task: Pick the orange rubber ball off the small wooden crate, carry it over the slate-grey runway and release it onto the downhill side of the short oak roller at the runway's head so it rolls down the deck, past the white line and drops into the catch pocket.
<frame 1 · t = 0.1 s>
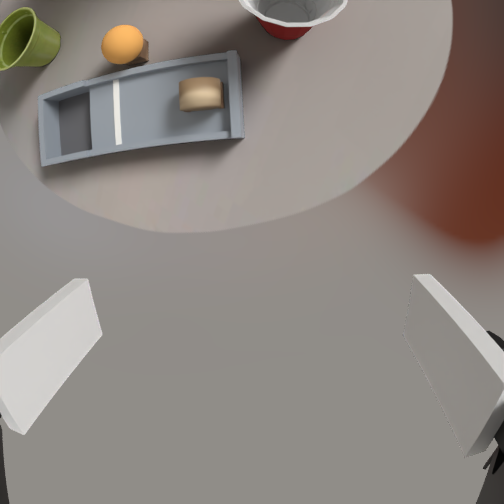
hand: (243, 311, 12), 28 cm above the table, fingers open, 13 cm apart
ball: (122, 44, 29), point 5 cm above the table, touching small wooden crate
runway: (154, 108, 36), on the table
plastic cup: (287, 21, 31), on the table
plant pot: (47, 48, 33), on the table
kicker: (209, 100, 35), resting on runway
small wooden crate: (138, 53, 33), on the table
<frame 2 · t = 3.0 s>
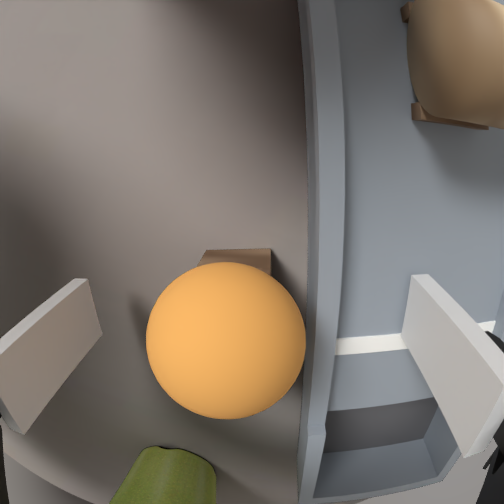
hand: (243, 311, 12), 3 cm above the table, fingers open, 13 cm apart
ball: (225, 341, 10), point 5 cm above the table, touching small wooden crate
runway: (415, 232, 13), on the table
plant pot: (177, 464, 20), on the table
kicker: (416, 77, 11), resting on runway
small wooden crate: (240, 279, 14), on the table
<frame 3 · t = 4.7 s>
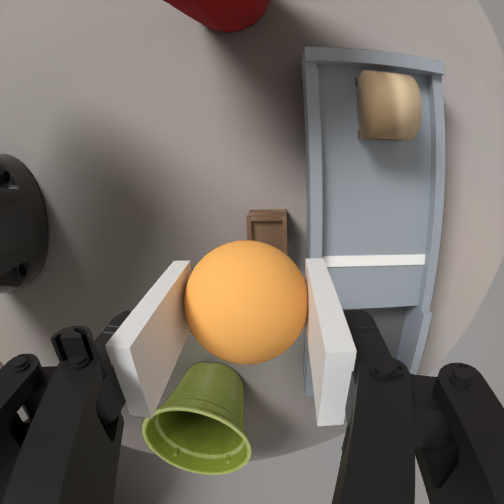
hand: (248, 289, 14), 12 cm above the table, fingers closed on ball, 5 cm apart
ball: (246, 302, 13), point 13 cm above the table, tilted 9°, touching gripper
runway: (369, 201, 24), on the table
plastic cup: (233, 2, 20), on the table
plant pot: (213, 381, 31), on the table
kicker: (368, 112, 22), resting on runway
small wooden crate: (268, 227, 25), on the table
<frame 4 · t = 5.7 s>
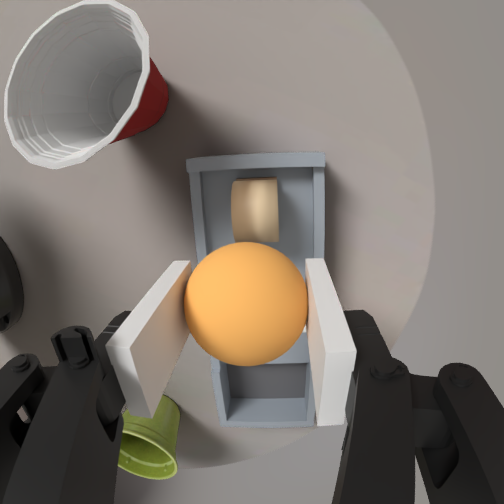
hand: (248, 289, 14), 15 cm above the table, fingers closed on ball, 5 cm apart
ball: (246, 304, 13), point 16 cm above the table, tilted 8°, touching gripper
runway: (263, 276, 29), on the table
plastic cup: (141, 98, 25), on the table
plant pot: (157, 406, 36), on the table
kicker: (259, 200, 27), resting on runway
when the fingers open (5 cm above the table, at t = 6.9 s): ball drops 6 cm and tips over, resting on runway.
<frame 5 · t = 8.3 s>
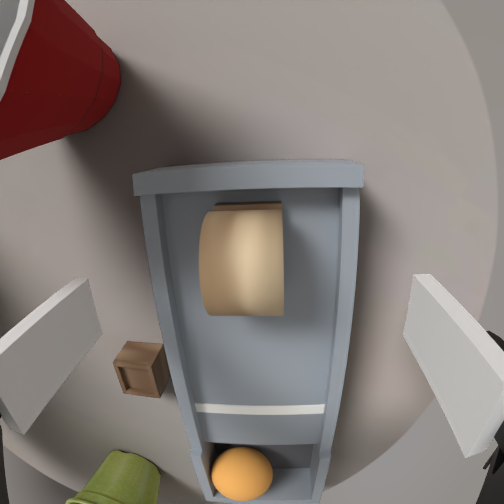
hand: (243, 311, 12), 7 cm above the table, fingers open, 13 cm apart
ball: (242, 474, 22), point 3 cm above the table, tilted 88°, touching runway
runway: (259, 339, 20), on the table
plastic cup: (85, 84, 16), on the table
plant pot: (134, 463, 27), on the table
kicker: (254, 233, 18), resting on runway
small wooden crate: (148, 358, 22), on the table
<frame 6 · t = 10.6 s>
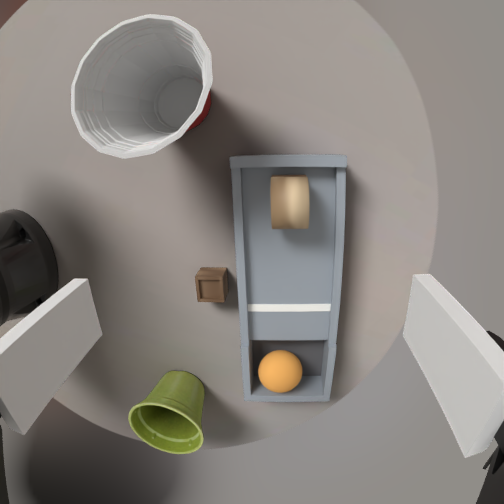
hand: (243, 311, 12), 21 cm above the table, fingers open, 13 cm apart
ball: (280, 371, 35), point 3 cm above the table, tilted 90°, touching runway
runway: (289, 262, 33), on the table
plastic cup: (185, 101, 29), on the table
plant pot: (183, 385, 41), on the table
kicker: (288, 194, 31), resting on runway
small wooden crate: (214, 279, 35), on the table
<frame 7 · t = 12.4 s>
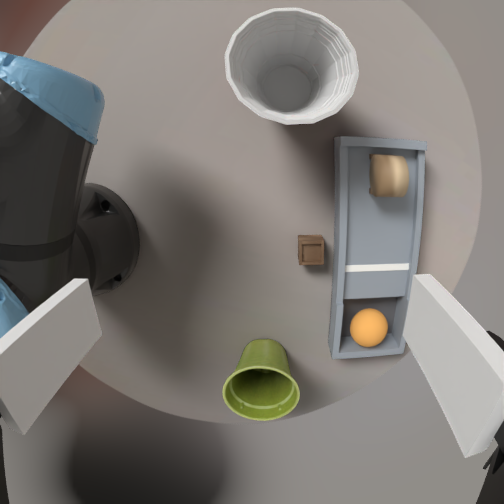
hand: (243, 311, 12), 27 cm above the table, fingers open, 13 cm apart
ball: (368, 327, 39), point 3 cm above the table, tilted 91°, touching runway
runway: (373, 229, 37), on the table
plastic cup: (288, 87, 33), on the table
plant pot: (264, 354, 45), on the table
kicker: (375, 172, 35), resting on runway
small wooden crate: (309, 246, 39), on the table
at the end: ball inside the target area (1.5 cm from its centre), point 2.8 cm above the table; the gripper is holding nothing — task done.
